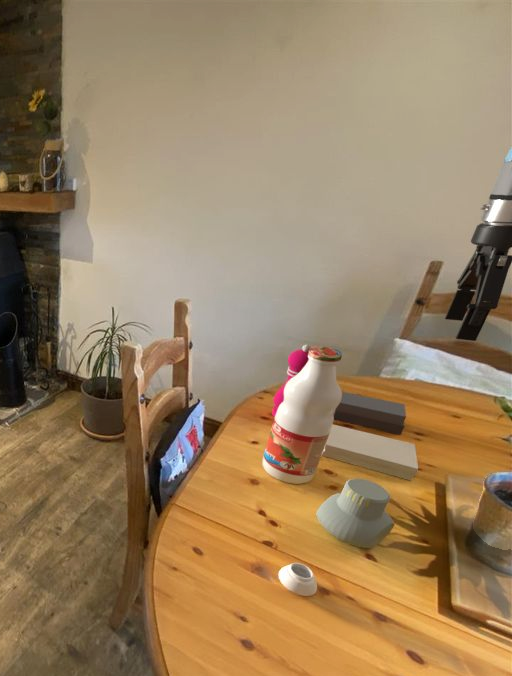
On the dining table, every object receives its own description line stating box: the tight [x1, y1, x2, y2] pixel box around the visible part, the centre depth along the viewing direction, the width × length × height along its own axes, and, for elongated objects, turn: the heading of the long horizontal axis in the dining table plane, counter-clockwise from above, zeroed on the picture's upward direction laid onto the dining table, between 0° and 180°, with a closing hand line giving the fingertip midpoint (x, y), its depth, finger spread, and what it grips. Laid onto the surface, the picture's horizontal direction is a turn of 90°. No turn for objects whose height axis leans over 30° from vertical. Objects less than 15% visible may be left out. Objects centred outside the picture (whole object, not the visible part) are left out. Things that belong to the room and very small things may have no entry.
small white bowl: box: [278, 562, 318, 597], centre depth 65 cm, size 5×3×5 cm
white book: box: [324, 424, 419, 474], centre depth 90 cm, size 15×10×1 cm, turn 52°
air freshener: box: [315, 478, 395, 549], centre depth 72 cm, size 11×8×10 cm
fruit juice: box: [261, 346, 343, 485], centre depth 83 cm, size 9×9×28 cm
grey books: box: [333, 391, 407, 436], centre depth 103 cm, size 13×7×5 cm, turn 52°
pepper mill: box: [271, 344, 312, 418], centre depth 103 cm, size 7×7×20 cm
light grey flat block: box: [321, 449, 418, 481], centre depth 91 cm, size 15×8×2 cm, turn 52°
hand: (459, 329), depth 88 cm, fingers open, 13 cm apart
